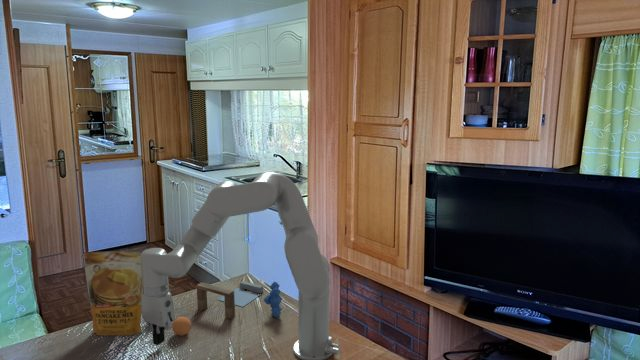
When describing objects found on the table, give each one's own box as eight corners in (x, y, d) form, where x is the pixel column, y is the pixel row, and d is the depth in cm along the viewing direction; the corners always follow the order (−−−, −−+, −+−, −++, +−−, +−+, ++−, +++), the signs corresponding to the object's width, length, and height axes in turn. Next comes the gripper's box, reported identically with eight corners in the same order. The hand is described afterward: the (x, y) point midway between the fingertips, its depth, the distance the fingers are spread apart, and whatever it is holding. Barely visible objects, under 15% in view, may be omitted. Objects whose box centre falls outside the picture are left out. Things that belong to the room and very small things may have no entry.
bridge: (203, 306, 171) (202, 282, 169) (234, 315, 164) (234, 290, 162) (197, 309, 168) (196, 285, 166) (229, 319, 161) (228, 294, 159)
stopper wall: (262, 291, 183) (262, 286, 183) (260, 293, 182) (259, 287, 181) (243, 286, 188) (242, 280, 187) (240, 288, 186) (239, 282, 186)
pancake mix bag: (94, 326, 156) (86, 249, 150) (150, 325, 156) (144, 249, 151) (85, 336, 149) (76, 256, 144) (143, 336, 150) (137, 256, 144)
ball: (195, 332, 153) (194, 315, 151) (182, 340, 147) (181, 323, 146) (182, 327, 155) (181, 311, 154) (168, 336, 150) (167, 319, 149)
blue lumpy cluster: (262, 307, 170) (262, 277, 168) (280, 306, 171) (280, 276, 169) (265, 323, 159) (264, 291, 157) (284, 321, 160) (284, 289, 158)
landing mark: (261, 294, 181) (261, 294, 181) (242, 307, 170) (242, 306, 170) (237, 288, 186) (237, 287, 186) (217, 300, 176) (217, 299, 176)
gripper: (182, 289, 139) (185, 343, 143) (148, 278, 146) (151, 330, 149) (164, 298, 132) (167, 355, 136) (128, 287, 139) (132, 341, 143)
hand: (159, 342), depth 143 cm, fingers closed
